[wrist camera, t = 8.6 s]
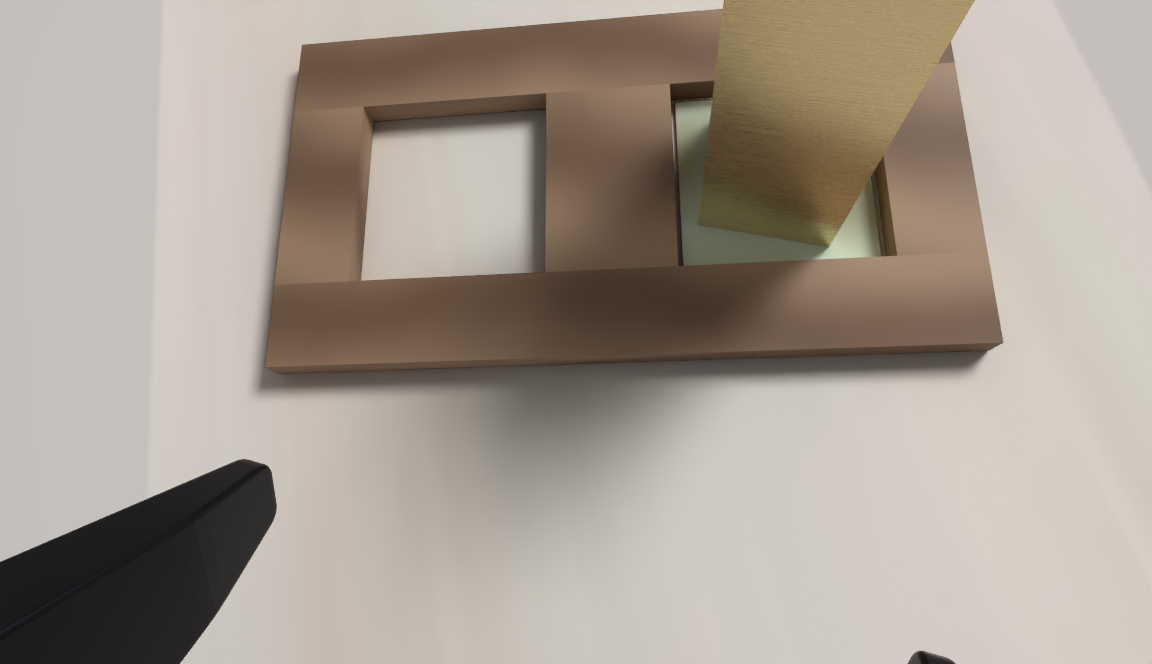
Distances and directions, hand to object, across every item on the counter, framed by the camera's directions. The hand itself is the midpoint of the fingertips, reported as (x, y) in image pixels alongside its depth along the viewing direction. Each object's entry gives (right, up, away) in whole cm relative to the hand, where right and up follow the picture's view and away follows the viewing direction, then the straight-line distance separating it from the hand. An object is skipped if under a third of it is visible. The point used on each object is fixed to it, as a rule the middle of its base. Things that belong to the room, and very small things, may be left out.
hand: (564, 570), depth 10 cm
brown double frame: (+1, +8, +16) cm, 18 cm away
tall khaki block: (+7, +9, +16) cm, 19 cm away
